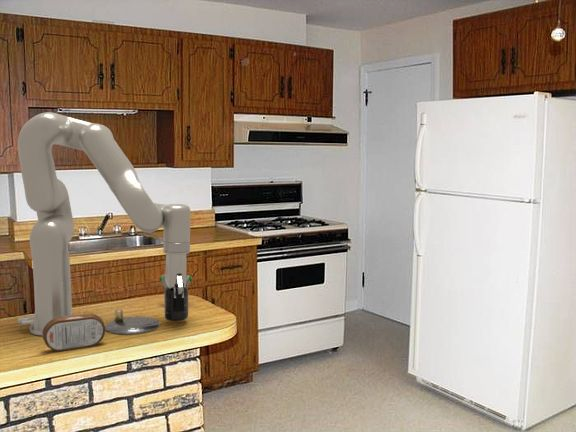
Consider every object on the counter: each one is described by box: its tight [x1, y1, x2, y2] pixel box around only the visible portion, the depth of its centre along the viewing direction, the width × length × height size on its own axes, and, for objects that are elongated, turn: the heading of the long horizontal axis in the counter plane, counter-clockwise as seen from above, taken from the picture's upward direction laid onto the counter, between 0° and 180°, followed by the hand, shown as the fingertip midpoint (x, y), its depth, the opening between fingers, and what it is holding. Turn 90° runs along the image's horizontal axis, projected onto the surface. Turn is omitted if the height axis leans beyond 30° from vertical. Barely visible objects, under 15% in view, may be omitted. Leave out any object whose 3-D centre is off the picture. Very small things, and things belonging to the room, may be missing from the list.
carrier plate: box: [104, 308, 160, 336], centre depth 166 cm, size 15×15×4 cm
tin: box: [42, 313, 106, 352], centre depth 147 cm, size 15×3×8 cm, turn 118°
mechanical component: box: [158, 274, 193, 288], centre depth 187 cm, size 3×10×10 cm, turn 89°
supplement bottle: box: [163, 285, 189, 322], centre depth 168 cm, size 7×7×12 cm
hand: (176, 307), depth 168 cm, fingers closed on supplement bottle, 6 cm apart
